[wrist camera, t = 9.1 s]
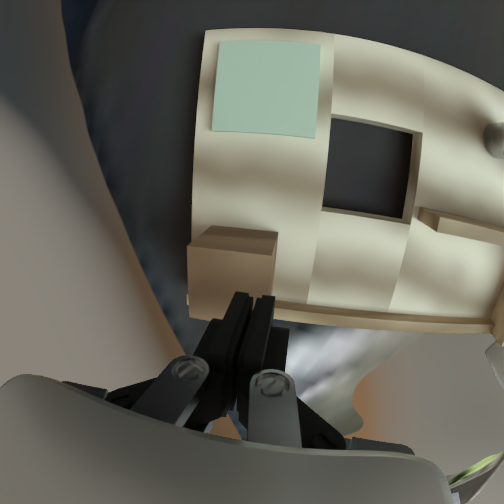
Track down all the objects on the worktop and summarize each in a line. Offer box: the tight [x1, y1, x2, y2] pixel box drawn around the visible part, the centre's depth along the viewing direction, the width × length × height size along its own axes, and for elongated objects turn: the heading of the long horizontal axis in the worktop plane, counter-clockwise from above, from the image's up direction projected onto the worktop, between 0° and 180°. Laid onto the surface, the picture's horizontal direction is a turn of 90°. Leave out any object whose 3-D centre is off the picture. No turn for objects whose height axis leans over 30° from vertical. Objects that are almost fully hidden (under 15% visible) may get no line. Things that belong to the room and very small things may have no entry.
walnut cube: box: [187, 225, 278, 321], centre depth 19 cm, size 5×5×5 cm
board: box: [187, 28, 504, 346], centre depth 17 cm, size 22×30×6 cm
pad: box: [212, 40, 321, 139], centre depth 17 cm, size 7×7×1 cm
